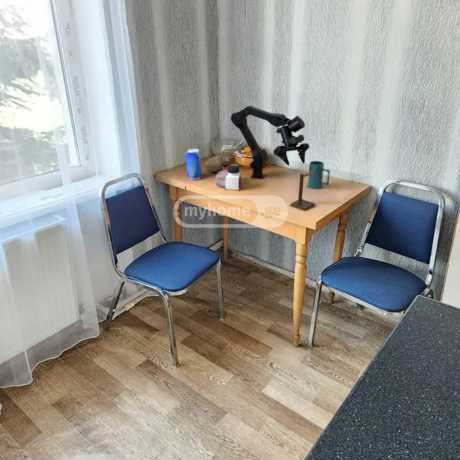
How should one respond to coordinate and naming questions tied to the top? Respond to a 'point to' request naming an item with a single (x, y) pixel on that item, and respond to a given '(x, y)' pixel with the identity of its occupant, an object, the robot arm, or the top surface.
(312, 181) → the mug
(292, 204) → the mug stand
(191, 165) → the beer can
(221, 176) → the food item
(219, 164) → the brown rounded lump
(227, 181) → the medicine bottle
